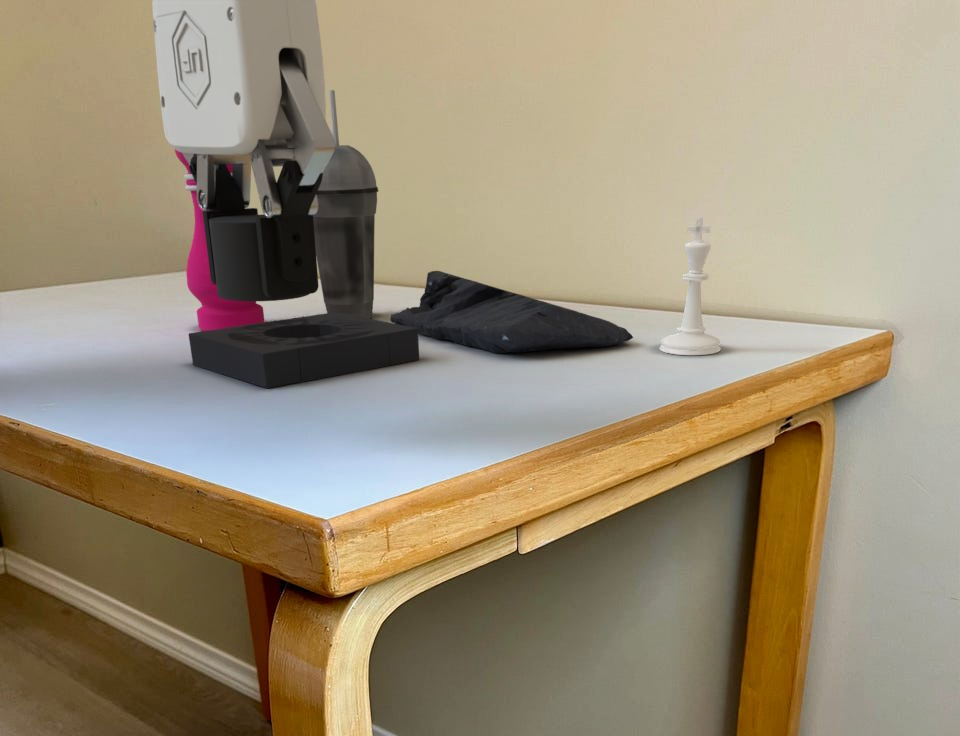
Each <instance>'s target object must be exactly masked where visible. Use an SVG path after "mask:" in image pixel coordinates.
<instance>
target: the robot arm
mask: <svg viewBox="0 0 960 736" xmlns="http://www.w3.org/2000/svg"><path fill="white" fill-rule="evenodd" d="M151 4H152V5H151V6H152V21H153V22H152V23H153V35H154V36H153V37H154V48H155V49H154V50H155V59H156V70H157V80H158V91H159V100H160V102H159V103H160V109H161V119H162V126H163V127H162V128H163V133H164V138H165V139H166V141H167V142H168V144H169V145H170V146H171V147H172V148H173V149H174V150H175V149H176V150H177V151H179V152H182V154H183V155H184V157H185V159H186V160H187V162H188V164H189V165H190V166H189V170H190V173H191V174H192V176H193V178H194V180H195V182H196V184H197V201H198V204H199V207H200V208H201V209H202V210H210V211H202V212H203V220H204V228H205V236H206V244H207V252H208V261H209V269H210V277H211V281H212V283H213V284H215V285H217V284H216V276H215V268H214V259H213V251H212V243H211V234H210V226H209V219H211V218H216V217H224V216H237V215H259V210H258V208H257V207H249V206H250V203H251V183H252V182H251V181H252V173H253V177H254V181H255V185H256V190H257V194H258V199H259V203H260V208H261V211H262V214H263V215H265V216H266V217H255V218H256V228H257V238H258V248H259V258H260V268H261V278H262V288H263V293H264V294H265V295H266V296H267V297H271V298H278V297H287V296H295V295H303V294H309V295H312V294H315V293H317V292H318V290H319V276H318V275H319V272H318V263H317V257H316V247H315V234H314V221H313V215H315V214H316V213H317V211H318V199H317V195H316V193H317V191H318V189H319V186H320V184H321V181H322V176H323V172H324V170H325V168H326V166H327V164H328V162H329V160H330V158H331V157H332V155H333V153H334V150H335V141H334V138H333V132H332V131H331V129H330V127H329V125H328V123H327V107H326V106H327V103H326V102H327V101H326V99H327V98H326V83H325V70H324V69H325V68H324V60H323V59H324V58H323V50H322V41H321V32H320V25H319V17H318V16H319V15H318V8H317V7H318V6H317V1H316V0H151ZM226 164H233V169H232V175H231V174H230V172H229V170H228V168H227V166H226ZM276 167H281V170H280V173H279V175H278V177H277V179H276V174H275V171H274V168H276Z"/></svg>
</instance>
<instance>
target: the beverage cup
mask: <svg viewBox="0 0 960 736" xmlns="http://www.w3.org/2000/svg"><path fill="white" fill-rule="evenodd" d="M328 93H329V94H328V96H329V105H330V108H329V109H330V119H331V130H332V131H331V133H332V135H333V138H334V141H335V150H334V153H333V155H332V157H331V158H330V160H329V162H328V164H327V166H326V168H325V170H324V172H323V176H322V181H321V184H320V186H319V189H318V191H317V193H316V195H317V199H318V211H317V213H316V214H315V215H313V221H314V234H315V247H316V260H317V270H318V275H319V280H320V285H321V292H322V297H323V303H324V306H325V311H326V313H333V312H337V313H342V314H347V315H353V316H358V317H363V318H368V319H372V318H373V316H374V313H373V309H374V300H375V294H374V293H375V222H376V221H375V219H376V218H375V216H376V213H377V206H378V192H379V187H378V185H377V179H376V176H375V173H374V170H373V168H372V165H371V164H370V162H369V160H368V159H367V158H366V156H365V155H364V154H362V153H361V151H360V150H358V149H357V148H355V147H353V146H351V145H349V144H342V145H341V144H340V139H339V127H338V115H337V103H336V91H335V90H334V89H332V90H331V89H330V90H328Z"/></svg>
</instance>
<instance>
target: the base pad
mask: <svg viewBox="0 0 960 736" xmlns="http://www.w3.org/2000/svg"><path fill="white" fill-rule="evenodd" d="M188 342H189V347H190V354H191V362H192V365H193V366H195V367H198V368H202V369H205V370H208V371H212V372H215V373H216V374H217V373H218V374H221V375H224V376H227V377H230V378H234V379H237V380H240V381H242V382H247V383H249V384H253V385H256V386H259V387H262V388H266V389H272V388H276V387H282V386H287V385H292V384H293V385H294V384H297V383H298V384H299V383H304V382H310V381H315V380H320V379H325V378H331V377H337V376H341V375H347V374H352V373H358V372H363V371H369V370H373V369H380V368H385V367H389V366H390V367H391V366H395V365H400V364H401V365H402V364H406V363H411V362H416V361H420V344H419V343H420V342H419V333H418V328H414V327H409V326H404V325H399V324H395V323H392V322H388V321H382V320H378V319H372V318H370V319H368V318H363V317H358V316H353V315H347V314H342V313H337V312H333V313H327V312H326V313H319V314H312V315H307V316H306V315H305V316H298V317H293V318H285V319H279V320H271V321H266V322H264V323H257V324H250V325H243V326H236V327H229V328H222V329H216V330H209V331H203V330H201V331H195V332H189V333H188Z"/></svg>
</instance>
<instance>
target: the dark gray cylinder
mask: <svg viewBox="0 0 960 736" xmlns="http://www.w3.org/2000/svg"><path fill="white" fill-rule="evenodd" d="M255 217H266V216H265V215H264V214H258V215H237V216H224V217H216V218H211V219H209V226H210V234H211V243H212V251H213V259H214V268H215V276H216V284H217V292H218V297H220V298H222V299H226V300H233V301H256V302H276V301H287V300H294V299H299V298H304V297H307V296H309V295H310V294H303V295H295V296H287V297H278V298H271V297H267V296H266V295H265V294H264V293H263V288H262V278H261V268H260V258H259V248H258V238H257V228H256V218H255Z"/></svg>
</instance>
